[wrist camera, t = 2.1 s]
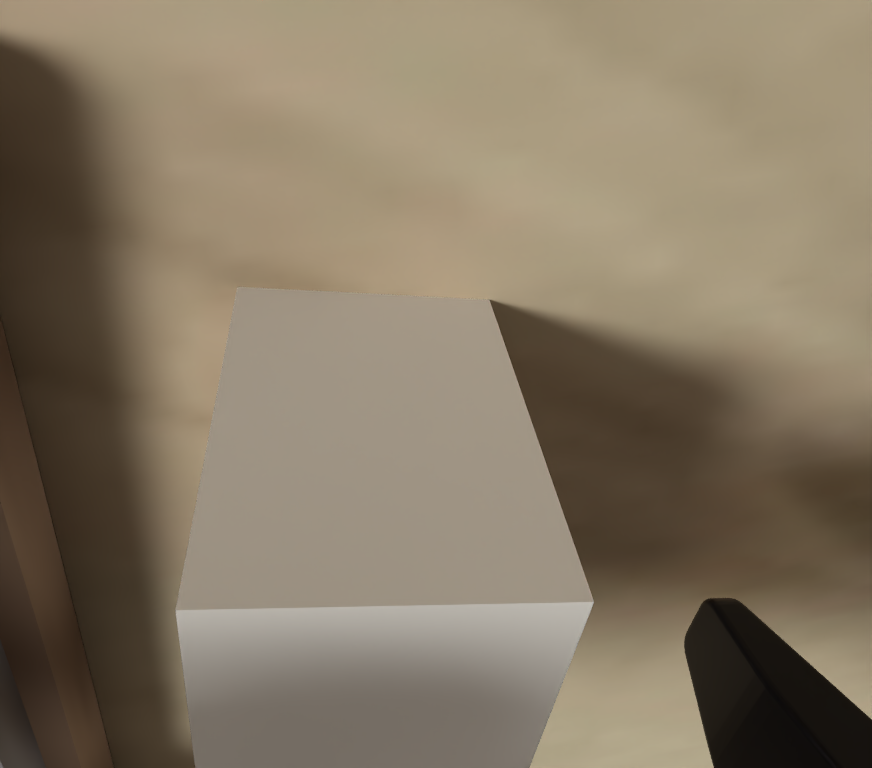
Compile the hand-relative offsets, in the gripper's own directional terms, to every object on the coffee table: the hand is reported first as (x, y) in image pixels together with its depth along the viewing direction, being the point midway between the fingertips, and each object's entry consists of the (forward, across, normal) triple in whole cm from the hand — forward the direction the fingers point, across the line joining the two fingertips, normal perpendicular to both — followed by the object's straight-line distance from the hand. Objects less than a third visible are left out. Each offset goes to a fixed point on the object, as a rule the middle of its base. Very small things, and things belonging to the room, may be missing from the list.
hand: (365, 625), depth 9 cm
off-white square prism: (+5, 0, 0) cm, 5 cm away
